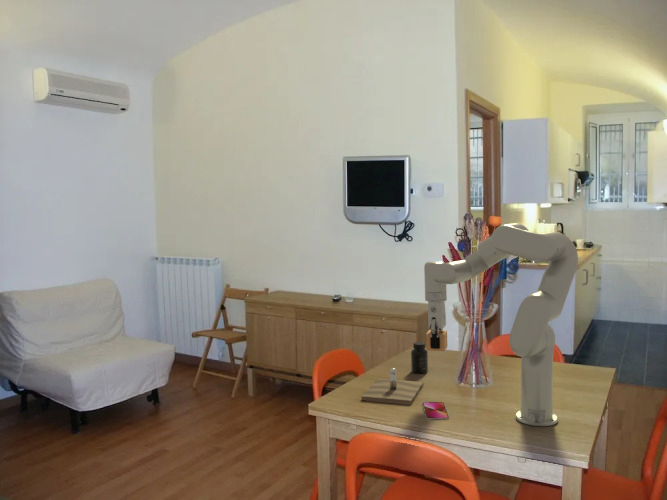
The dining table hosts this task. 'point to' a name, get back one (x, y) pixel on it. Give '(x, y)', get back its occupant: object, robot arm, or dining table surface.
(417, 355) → the supplement bottle
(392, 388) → the post
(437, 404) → the smartphone
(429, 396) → the dining table surface
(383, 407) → the dining table surface
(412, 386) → the board
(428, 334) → the hollow wooden cube
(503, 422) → the dining table surface
